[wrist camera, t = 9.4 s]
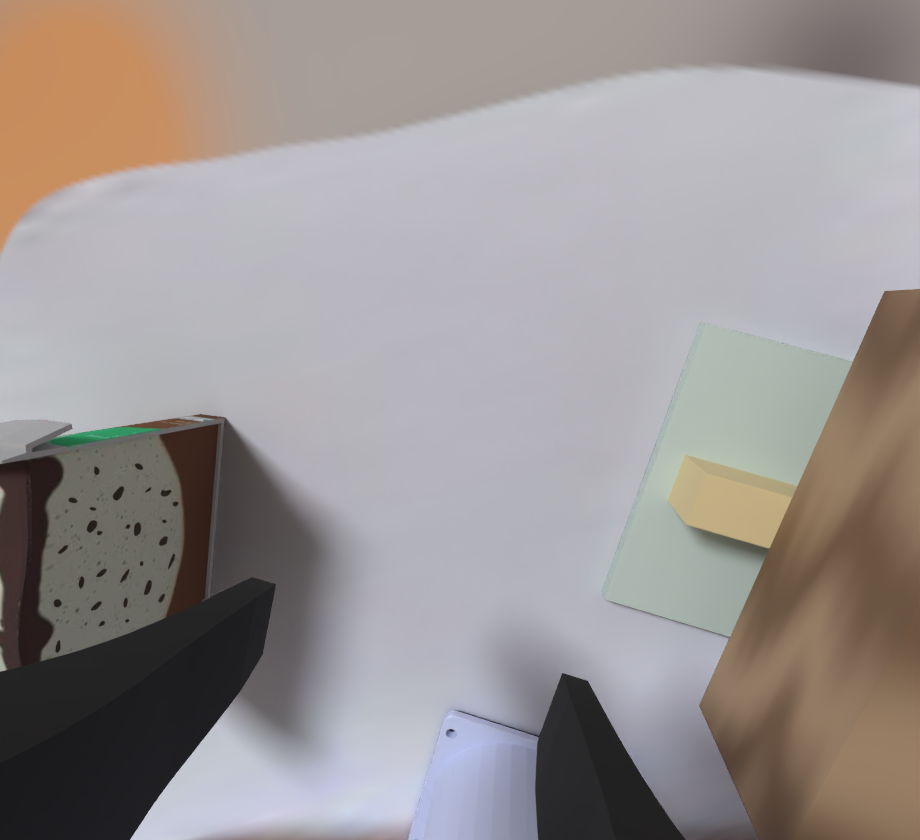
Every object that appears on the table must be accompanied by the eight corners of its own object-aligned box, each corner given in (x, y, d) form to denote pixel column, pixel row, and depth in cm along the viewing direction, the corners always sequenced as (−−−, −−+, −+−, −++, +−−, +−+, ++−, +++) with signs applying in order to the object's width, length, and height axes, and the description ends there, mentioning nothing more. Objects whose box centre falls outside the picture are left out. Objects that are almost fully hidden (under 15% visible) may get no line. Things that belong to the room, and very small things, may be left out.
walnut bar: (803, 737, 19) (925, 923, 13) (699, 705, 19) (774, 873, 14) (1016, 324, 16) (1313, 331, 10) (884, 291, 16) (1096, 278, 10)
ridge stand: (878, 674, 21) (933, 731, 19) (601, 591, 22) (613, 633, 19) (1021, 407, 19) (1114, 424, 16) (700, 323, 19) (731, 324, 16)
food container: (99, 357, 23) (-214, 391, 13) (227, 385, 22) (0, 441, 13) (94, 596, 26) (-167, 770, 16) (208, 625, 25) (9, 822, 15)
